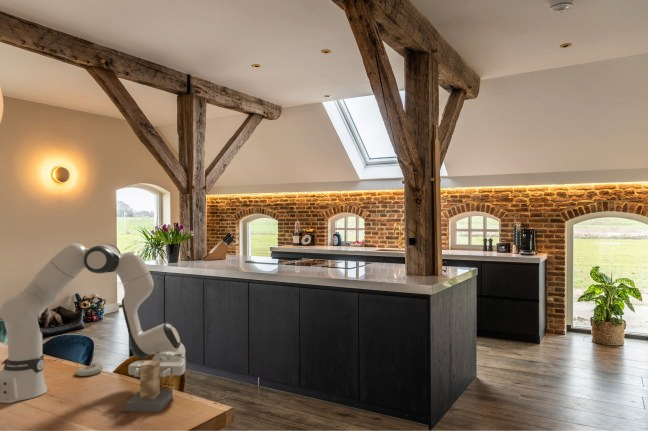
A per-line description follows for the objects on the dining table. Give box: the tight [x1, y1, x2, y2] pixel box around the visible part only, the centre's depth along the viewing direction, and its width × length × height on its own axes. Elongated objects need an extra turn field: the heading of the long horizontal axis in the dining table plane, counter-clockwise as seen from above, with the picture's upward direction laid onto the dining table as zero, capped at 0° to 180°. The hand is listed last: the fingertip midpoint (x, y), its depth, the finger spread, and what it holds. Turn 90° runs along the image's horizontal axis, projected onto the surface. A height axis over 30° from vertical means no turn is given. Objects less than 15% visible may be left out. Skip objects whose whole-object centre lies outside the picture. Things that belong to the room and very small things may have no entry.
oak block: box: [139, 361, 161, 399], centre depth 168 cm, size 5×5×12 cm
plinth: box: [125, 389, 174, 413], centre depth 168 cm, size 12×12×3 cm
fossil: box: [75, 362, 104, 377], centre depth 203 cm, size 11×4×10 cm
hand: (149, 374), depth 167 cm, fingers open, 8 cm apart
